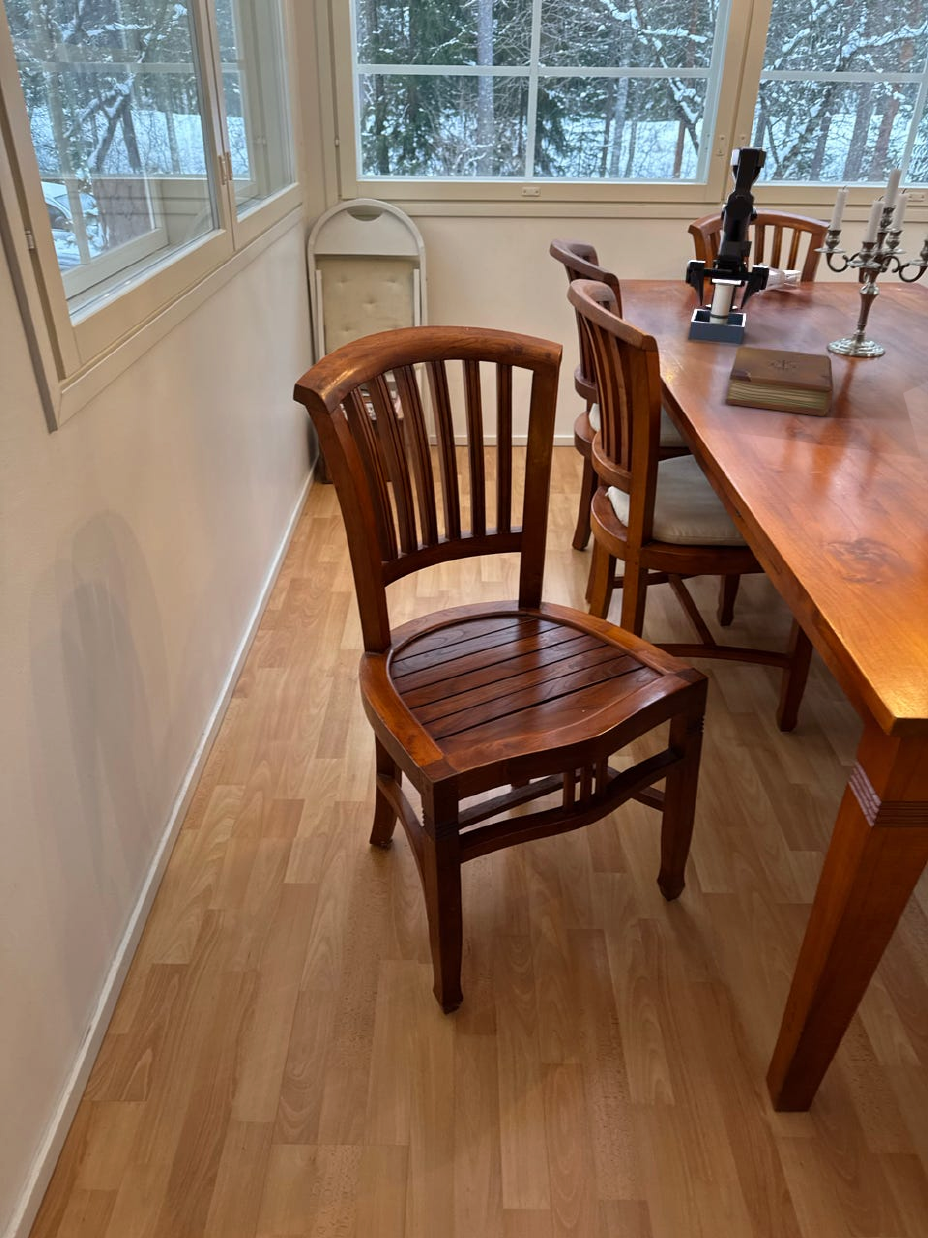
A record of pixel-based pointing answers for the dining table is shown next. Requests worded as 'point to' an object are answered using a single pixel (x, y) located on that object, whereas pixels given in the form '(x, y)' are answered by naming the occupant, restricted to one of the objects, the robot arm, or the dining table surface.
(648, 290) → the dining table surface
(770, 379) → the diary
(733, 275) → the robot arm
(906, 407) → the dining table surface
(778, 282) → the figurine
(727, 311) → the light grey piece
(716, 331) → the box
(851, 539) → the dining table surface
